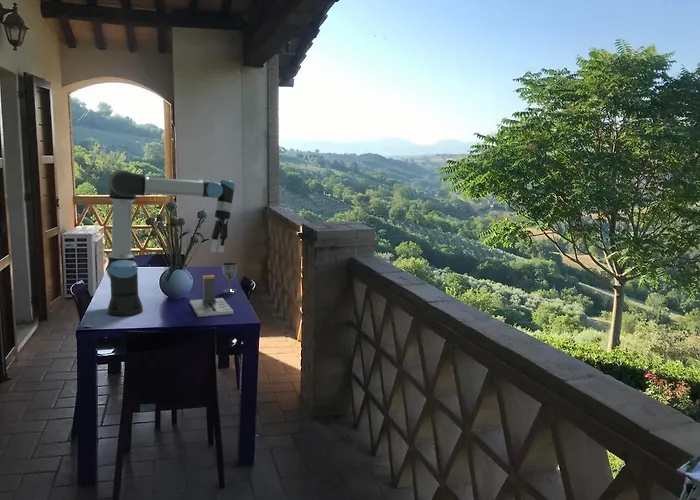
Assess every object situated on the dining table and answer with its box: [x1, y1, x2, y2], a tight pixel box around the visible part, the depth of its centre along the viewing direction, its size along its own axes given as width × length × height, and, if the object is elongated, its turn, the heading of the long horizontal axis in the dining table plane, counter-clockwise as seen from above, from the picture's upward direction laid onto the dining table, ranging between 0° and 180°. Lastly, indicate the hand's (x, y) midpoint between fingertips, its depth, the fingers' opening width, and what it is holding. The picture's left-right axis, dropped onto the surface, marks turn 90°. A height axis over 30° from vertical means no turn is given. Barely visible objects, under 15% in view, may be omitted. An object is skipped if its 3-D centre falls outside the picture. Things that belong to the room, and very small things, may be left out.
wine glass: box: [221, 261, 238, 293], centre depth 309 cm, size 8×8×15 cm
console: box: [189, 297, 234, 318], centre depth 273 cm, size 16×26×2 cm, turn 23°
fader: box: [202, 274, 216, 303], centre depth 277 cm, size 6×5×13 cm
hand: (216, 252), depth 288 cm, fingers open, 13 cm apart
